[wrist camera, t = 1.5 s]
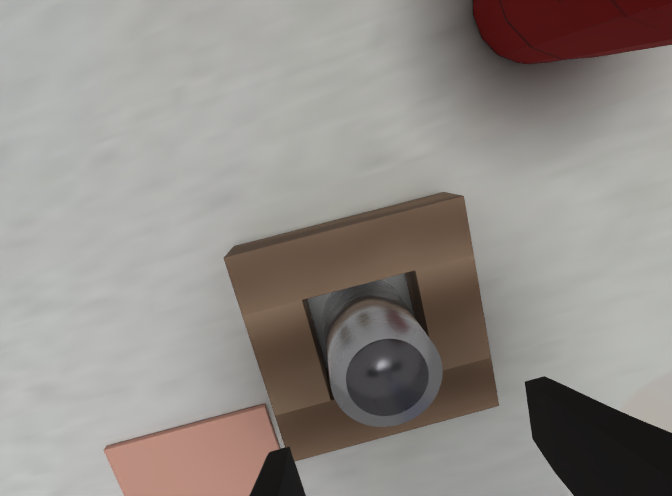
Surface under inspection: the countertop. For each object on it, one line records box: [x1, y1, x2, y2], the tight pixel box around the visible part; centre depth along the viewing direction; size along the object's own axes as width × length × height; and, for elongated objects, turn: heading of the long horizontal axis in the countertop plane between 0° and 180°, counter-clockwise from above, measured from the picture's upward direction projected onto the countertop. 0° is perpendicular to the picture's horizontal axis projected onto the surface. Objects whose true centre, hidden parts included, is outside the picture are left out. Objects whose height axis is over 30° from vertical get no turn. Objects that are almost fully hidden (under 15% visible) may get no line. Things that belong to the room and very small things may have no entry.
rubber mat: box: [104, 404, 280, 496], centre depth 22 cm, size 9×9×1 cm
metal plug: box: [323, 280, 443, 427], centre depth 17 cm, size 4×4×6 cm
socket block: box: [224, 192, 499, 461], centre depth 19 cm, size 11×11×2 cm
